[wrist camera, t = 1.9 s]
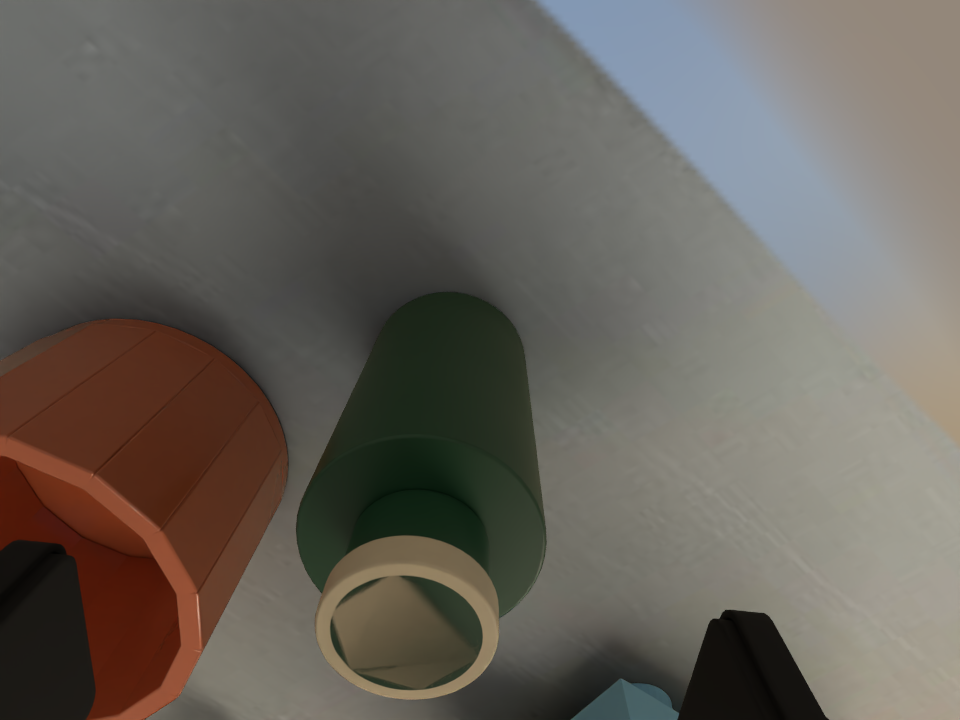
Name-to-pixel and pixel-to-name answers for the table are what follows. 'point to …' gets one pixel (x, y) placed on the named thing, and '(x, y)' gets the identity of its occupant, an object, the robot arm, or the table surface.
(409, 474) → the bottle
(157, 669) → the cup
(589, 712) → the teapot
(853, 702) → the table surface
